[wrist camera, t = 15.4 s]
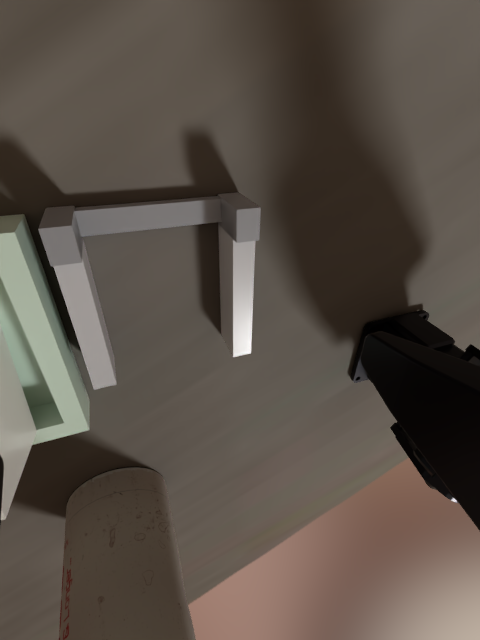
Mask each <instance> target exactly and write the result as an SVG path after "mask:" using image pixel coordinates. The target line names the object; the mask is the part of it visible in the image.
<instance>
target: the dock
mask: <svg viewBox="0 0 480 640" xmlns="http://www.w3.org/2000/svg"><path fill="white" fill-rule="evenodd" d="M260 212H261V207H259V206H258V205H256V204H255V203H253V202H252V201H251V200H249V199H248V198H246V197H245V196H243V195H242V194H240V193H239V192H237V193H225V194H218V196H212V197H199V198H187V199H175V200H163V201H151V202H138V203H126V204H114V205H102V206H89V207H77V208H75V206H62V207H49V208H46V209H45V212H44V215H43V217H42V220H41V223H40V225H39V228H38V230H39V233H40V236H41V239H42V242H43V245H44V248H45V251H46V254H47V257H48V260H49V263H50V266H53V267H54V270H55V273H56V276H57V279H58V282H59V285H60V288H61V291H62V294H63V297H64V300H65V303H66V306H67V309H68V312H69V315H70V318H71V321H72V324H73V327H74V330H75V333H76V336H77V339H78V342H79V345H80V348H81V351H82V354H83V357H84V360H85V363H86V366H87V369H88V372H89V376H90V379H91V382H92V385H93V388H94V389H99V388H103V387H107V386H112V385H116V384H117V382H116V371H115V360H114V354H113V351H112V347H111V343H110V339H109V335H108V331H107V328H106V324H105V320H104V316H103V312H102V309H101V305H100V301H99V297H98V293H97V290H96V286H95V282H94V278H93V274H92V271H91V267H90V263H89V259H88V255H87V252H86V248H85V244H84V240H83V236H92V235H102V234H111V233H121V232H130V231H140V230H149V229H159V228H168V227H178V226H187V225H197V224H206V223H216V222H218V231H219V271H220V310H221V335H222V337H223V339H224V341H225V343H226V345H227V347H228V349H229V350H230V352H231V354H232V356H233V357H237V356H241V355H245V354H250V353H251V338H252V312H253V286H254V260H255V241H257V240H259V234H260Z"/></svg>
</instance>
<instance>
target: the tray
mask: <svg viewBox="0 0 480 640" xmlns="http://www.w3.org/2000/svg"><path fill="white" fill-rule="evenodd" d="M0 324H1V327H2V330H3V333H4V336H5V339H6V342H7V345H8V348H9V351H10V354H11V357H12V360H13V363H14V365H15V368H16V371H17V374H18V377H19V380H20V383H21V386H22V389H23V392H24V395H25V398H26V401H27V404H28V406H29V409H30V412H31V415H32V418H33V421H34V424H35V427H36V430H37V433H36V435H35V438H34V441H33V444H32V445H34V444H38V443H42V442H46V441H50V440H53V439H57V438H61V437H65V436H69V435H72V434H76V433H80V432H84V431H87V430H89V397H88V395H87V392H86V389H85V386H84V383H83V380H82V377H81V375H80V372H79V369H78V366H77V363H76V360H75V358H74V355H73V352H72V349H71V346H70V343H69V340H68V338H67V335H66V332H65V329H64V326H63V323H62V320H61V318H60V315H59V312H58V309H57V306H56V303H55V300H54V298H53V295H52V292H51V289H50V286H49V283H48V281H47V278H46V275H45V272H44V269H43V266H42V263H41V261H40V258H39V255H38V252H37V249H36V246H35V243H34V241H33V238H32V235H31V232H30V229H29V226H28V223H27V221H26V218H25V215H24V214H20V215H8V216H0Z"/></svg>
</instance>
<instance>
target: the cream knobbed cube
mask: <svg viewBox="0 0 480 640" xmlns="http://www.w3.org/2000/svg"><path fill="white" fill-rule="evenodd" d="M36 433H37V430H36V427H35V424H34V421H33V418H32V415H31V412H30V409H29V406H28V404H27V401H26V398H25V395H24V392H23V389H22V386H21V383H20V380H19V377H18V374H17V371H16V368H15V365H14V363H13V360H12V357H11V354H10V351H9V348H8V345H7V342H6V339H5V336H4V333H3V330H2V327H1V324H0V455H1V457H2V459H3V463H4V476H3V492H2V508H1V520H4V519H6V517H7V514H8V511H9V508H10V505H11V503H12V500H13V497H14V494H15V491H16V489H17V486H18V483H19V480H20V477H21V475H22V472H23V469H24V466H25V463H26V461H27V458H28V455H29V452H30V449H31V447H32V444H33V441H34V438H35V435H36Z"/></svg>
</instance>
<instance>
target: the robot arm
mask: <svg viewBox="0 0 480 640" xmlns="http://www.w3.org/2000/svg"><path fill="white" fill-rule="evenodd" d="M428 317H429V313H427V312H426V311H424V310H422V311H418V312H413V313H409V314H405V315H400V316H396V317H391V318H387V319H383V320H378V321H374V322H370V323H368V324H367V325H366V326H365V327H364V330H363V334H362V338H361V341H360V345H359V349H358V352H357V356H356V360H355V363H354V367H353V371H352V375H351V380H352V381H353V382H354V383H357V382H361V381H364V380H368V379H369V380H370V381H371V382H372V383H373V384H374V386H375V387H376V389H377V391H378V392H379V394H380V396H381V397H382V399H383V401H384V402H385V404H386V405H387V407H388V409H389V410H390V412H391V413H392V415H393V416H394V417H395V419H396V420H397V421H398V422H397V423H394V424H393V425H392V426H391V427H390V428H391V430H392V431H393V433H394V434H395V436H396V439H397V440H398V442H399V443H400V445H401V446H402V448H403V449H404V451H405V452H406V454H407V455H408V457H409V458H410V459H411V461H412V462H413V464H414V465H415V467H416V468H417V470H418V471H419V473H420V474H421V476H422V477H423V479H424V480H425V482H426V484H427V485H428V486H429V487H430V488H432V489H436V490H438V491H439V492H440V493H442V494H443V495H444V496H445V497H447V498H448V499H450V500H452V501H454V502H456V503H459V504H460V505H461V506H462V508H463V509H464V510H465V512H466V513H467V514H468V516H469V517H470V518H471V519H472V521H473V522H474V524H475V525H476V526H477V528H478V529H479V530H480V350H479V349H477V348H476V347H474V346H473V345H471V344H470V345H469V346H468V347H467V348H466V349H465V350H466V351H465V352H464V351H462V350H461V349H459V348H458V347H457V346H455V345H454V343H455V341H454V339H453V338H452V337H450V336H449V335H447V334H446V333H444V332H443V331H441V330H440V329H439V328H437V327H436V326H434V325H433V324H431V323H430V322H428V321H427V320H428ZM3 476H4V463H3V459H2V457H1V455H0V523H1V508H2V492H3Z"/></svg>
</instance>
